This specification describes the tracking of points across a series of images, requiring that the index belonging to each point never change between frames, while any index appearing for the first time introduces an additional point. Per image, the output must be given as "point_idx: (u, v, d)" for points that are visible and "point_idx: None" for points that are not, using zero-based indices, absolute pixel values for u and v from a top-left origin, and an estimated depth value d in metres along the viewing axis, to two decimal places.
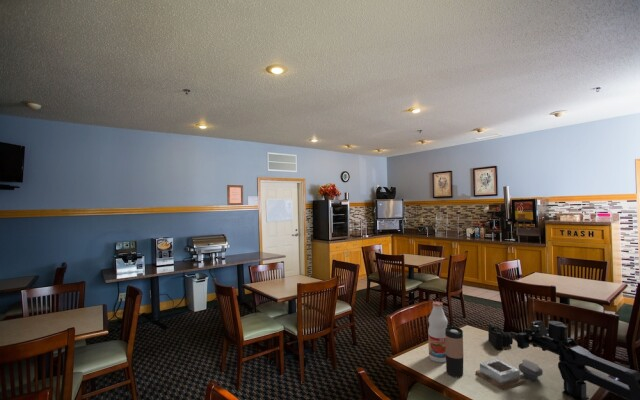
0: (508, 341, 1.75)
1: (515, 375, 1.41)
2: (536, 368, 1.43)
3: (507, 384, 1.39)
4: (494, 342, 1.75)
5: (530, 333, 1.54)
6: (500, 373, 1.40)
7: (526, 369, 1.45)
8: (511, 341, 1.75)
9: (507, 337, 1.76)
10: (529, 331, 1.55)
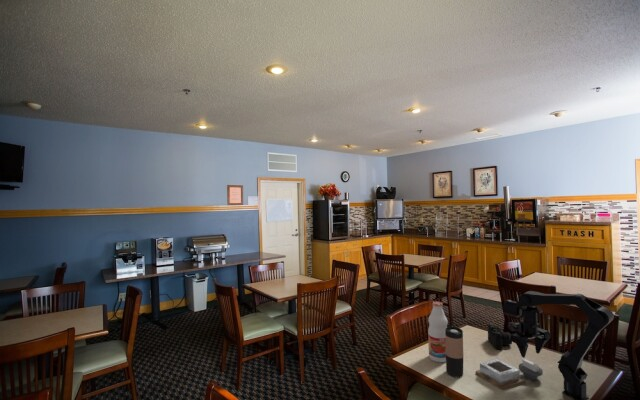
0: (508, 341, 1.75)
1: (515, 375, 1.41)
2: (536, 368, 1.43)
3: (507, 384, 1.39)
4: (493, 342, 1.75)
5: (538, 346, 1.47)
6: (500, 373, 1.40)
7: (526, 369, 1.45)
8: (510, 341, 1.75)
9: (507, 337, 1.76)
10: (537, 347, 1.47)
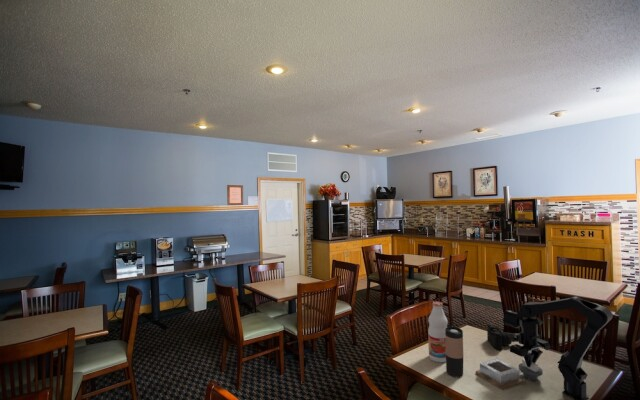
0: (507, 341, 1.75)
1: (515, 375, 1.41)
2: (536, 368, 1.43)
3: (507, 384, 1.39)
4: (493, 342, 1.75)
5: (533, 358, 1.45)
6: (500, 373, 1.40)
7: (526, 368, 1.45)
8: (510, 341, 1.75)
9: (506, 337, 1.76)
10: (531, 359, 1.46)
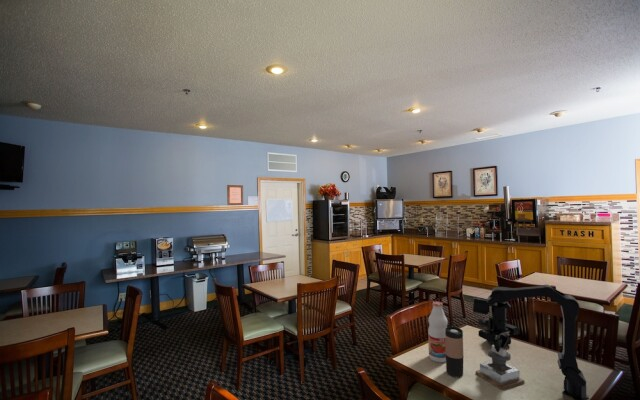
0: None
1: (515, 375, 1.41)
2: (504, 353, 1.43)
3: (507, 384, 1.39)
4: (492, 343, 1.75)
5: (502, 343, 1.45)
6: (500, 373, 1.40)
7: (494, 354, 1.45)
8: (509, 341, 1.75)
9: None
10: (500, 344, 1.46)
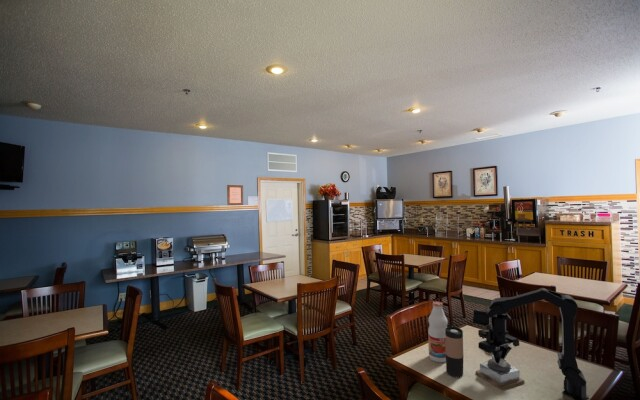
0: None
1: (515, 375, 1.41)
2: (504, 364, 1.43)
3: (507, 384, 1.39)
4: None
5: (502, 355, 1.45)
6: (500, 373, 1.40)
7: (494, 364, 1.45)
8: None
9: None
10: (500, 356, 1.46)
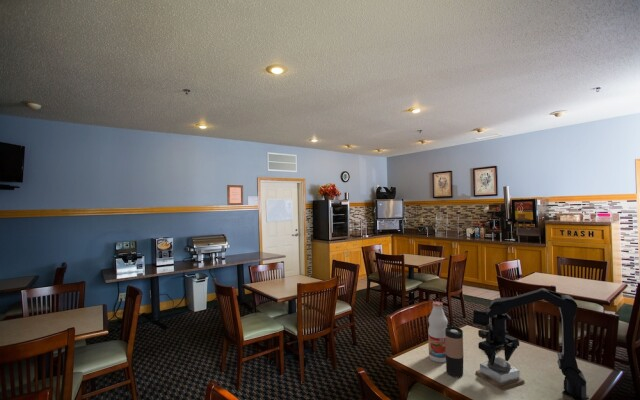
0: None
1: (515, 375, 1.41)
2: (504, 364, 1.43)
3: (507, 384, 1.39)
4: None
5: (507, 354, 1.47)
6: (500, 373, 1.40)
7: (494, 364, 1.45)
8: None
9: None
10: (506, 354, 1.47)
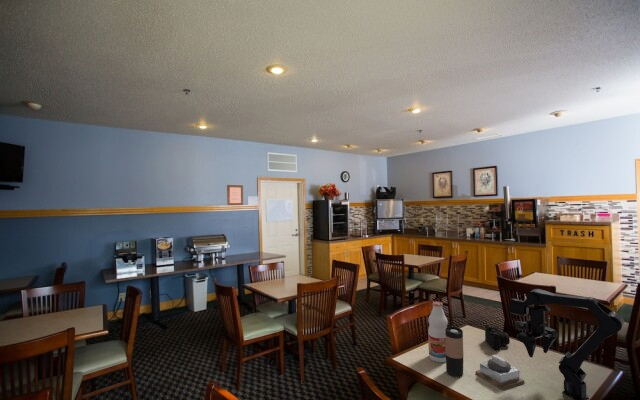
0: (505, 341, 1.75)
1: (515, 375, 1.41)
2: (504, 364, 1.43)
3: (507, 384, 1.39)
4: (491, 343, 1.74)
5: (546, 345, 1.43)
6: (500, 373, 1.40)
7: (494, 364, 1.45)
8: (508, 341, 1.75)
9: (504, 337, 1.75)
10: (544, 346, 1.44)
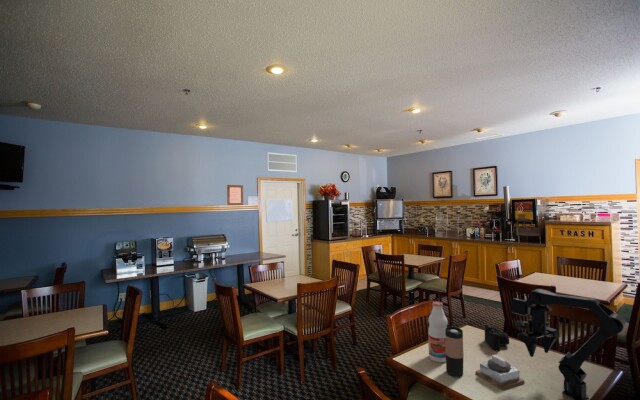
0: (505, 341, 1.75)
1: (515, 375, 1.41)
2: (504, 364, 1.43)
3: (507, 384, 1.39)
4: (491, 343, 1.74)
5: (547, 345, 1.43)
6: (500, 373, 1.40)
7: (494, 364, 1.45)
8: (508, 341, 1.75)
9: (504, 337, 1.75)
10: (545, 346, 1.44)
